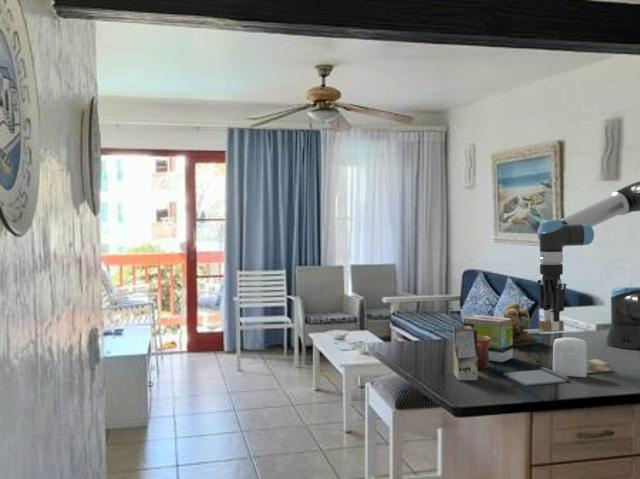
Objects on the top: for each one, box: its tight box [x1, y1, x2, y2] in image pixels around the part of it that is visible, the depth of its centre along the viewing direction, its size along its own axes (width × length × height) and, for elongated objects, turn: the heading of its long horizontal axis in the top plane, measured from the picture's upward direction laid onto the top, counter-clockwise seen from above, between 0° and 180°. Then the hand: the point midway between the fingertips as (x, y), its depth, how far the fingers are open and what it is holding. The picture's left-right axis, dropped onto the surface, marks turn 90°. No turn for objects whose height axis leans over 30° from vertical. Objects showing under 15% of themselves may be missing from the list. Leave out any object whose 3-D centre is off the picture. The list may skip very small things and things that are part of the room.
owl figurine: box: [502, 302, 536, 349], centre depth 233 cm, size 18×12×17 cm, turn 137°
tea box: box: [463, 314, 514, 363], centre depth 213 cm, size 15×10×15 cm, turn 47°
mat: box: [503, 366, 570, 387], centre depth 185 cm, size 15×13×1 cm
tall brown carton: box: [523, 320, 565, 334], centre depth 204 cm, size 14×4×4 cm, turn 103°
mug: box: [477, 335, 491, 370], centre depth 198 cm, size 12×9×10 cm
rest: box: [587, 358, 611, 374], centre depth 194 cm, size 12×6×2 cm, turn 103°
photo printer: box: [552, 337, 588, 378], centre depth 187 cm, size 10×4×12 cm, turn 74°
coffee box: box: [452, 324, 478, 381], centre depth 188 cm, size 9×6×16 cm
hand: (551, 329), depth 205 cm, fingers closed on tall brown carton, 3 cm apart
